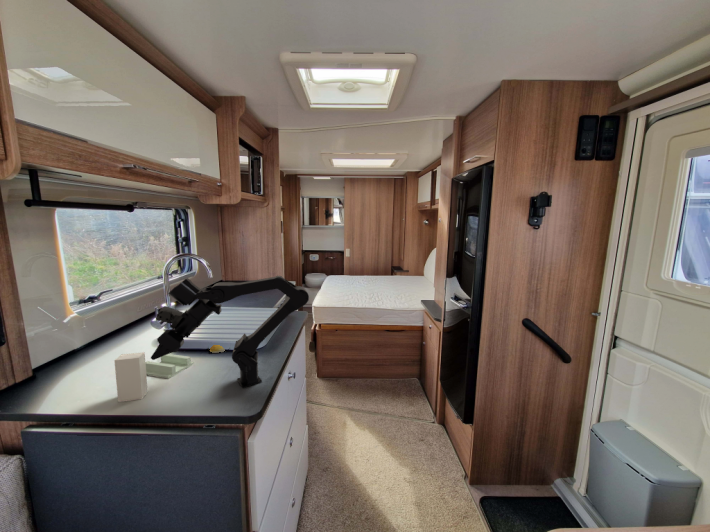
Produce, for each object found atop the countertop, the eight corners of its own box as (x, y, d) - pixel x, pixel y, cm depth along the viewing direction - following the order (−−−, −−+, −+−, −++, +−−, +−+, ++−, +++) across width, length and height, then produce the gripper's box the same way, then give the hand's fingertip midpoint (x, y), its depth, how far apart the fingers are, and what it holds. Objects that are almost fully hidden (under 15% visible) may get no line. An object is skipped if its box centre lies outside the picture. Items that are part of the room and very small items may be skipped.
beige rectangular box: (147, 391, 87) (144, 352, 86) (142, 398, 84) (138, 357, 82) (124, 394, 86) (121, 354, 84) (118, 402, 82) (114, 360, 80)
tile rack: (193, 364, 106) (193, 355, 105) (168, 378, 95) (168, 369, 95) (167, 360, 108) (167, 351, 108) (140, 374, 98) (139, 364, 97)
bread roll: (212, 355, 114) (211, 346, 113) (206, 348, 120) (206, 339, 120) (233, 350, 119) (232, 341, 118) (226, 343, 126) (226, 335, 125)
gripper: (183, 291, 94) (147, 326, 92) (163, 306, 76) (118, 348, 74) (210, 312, 97) (176, 346, 95) (197, 331, 79) (154, 372, 77)
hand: (158, 352), depth 85 cm, fingers open, 9 cm apart
